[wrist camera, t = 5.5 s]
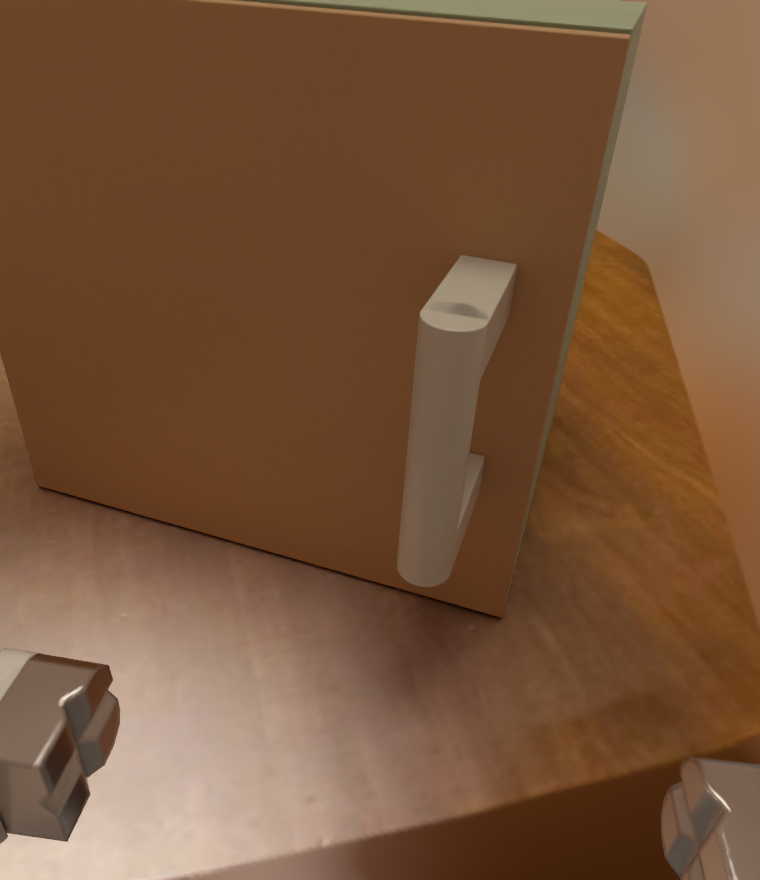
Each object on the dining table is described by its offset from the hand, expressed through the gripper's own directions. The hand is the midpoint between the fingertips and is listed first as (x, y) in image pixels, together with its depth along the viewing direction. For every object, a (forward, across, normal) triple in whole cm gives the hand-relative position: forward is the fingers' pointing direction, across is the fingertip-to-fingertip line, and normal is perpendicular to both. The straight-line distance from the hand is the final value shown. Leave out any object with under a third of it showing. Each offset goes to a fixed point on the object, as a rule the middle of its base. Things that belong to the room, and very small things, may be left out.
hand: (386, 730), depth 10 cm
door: (+17, +9, +16) cm, 25 cm away
